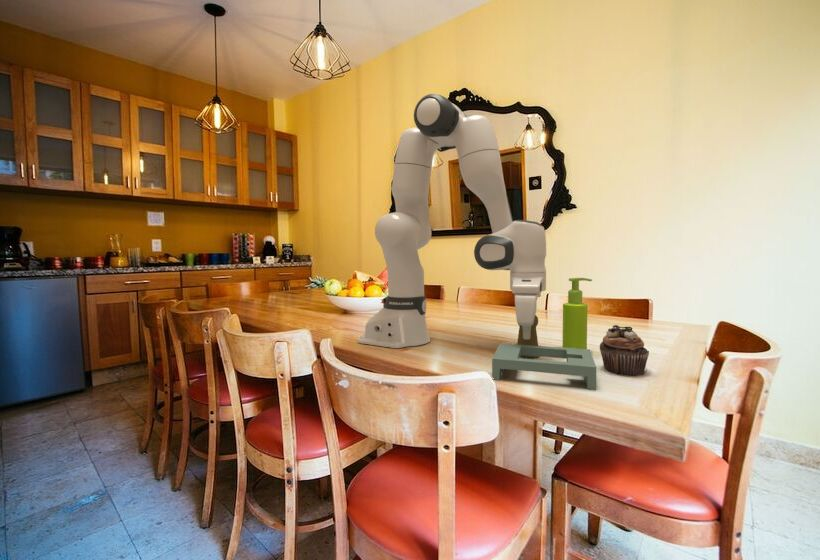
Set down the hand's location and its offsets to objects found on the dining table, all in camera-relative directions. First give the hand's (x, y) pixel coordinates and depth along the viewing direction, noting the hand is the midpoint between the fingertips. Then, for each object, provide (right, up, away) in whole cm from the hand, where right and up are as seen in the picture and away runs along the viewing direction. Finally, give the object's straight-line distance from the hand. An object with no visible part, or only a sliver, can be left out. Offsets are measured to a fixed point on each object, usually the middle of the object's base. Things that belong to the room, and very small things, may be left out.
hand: (527, 336), depth 97 cm
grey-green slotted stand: (-1, -6, -14) cm, 15 cm away
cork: (0, -5, 0) cm, 5 cm away
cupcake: (+18, -6, -13) cm, 22 cm away
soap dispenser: (+13, -5, +2) cm, 14 cm away
